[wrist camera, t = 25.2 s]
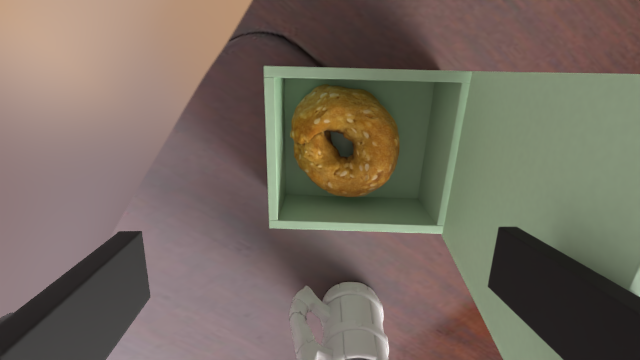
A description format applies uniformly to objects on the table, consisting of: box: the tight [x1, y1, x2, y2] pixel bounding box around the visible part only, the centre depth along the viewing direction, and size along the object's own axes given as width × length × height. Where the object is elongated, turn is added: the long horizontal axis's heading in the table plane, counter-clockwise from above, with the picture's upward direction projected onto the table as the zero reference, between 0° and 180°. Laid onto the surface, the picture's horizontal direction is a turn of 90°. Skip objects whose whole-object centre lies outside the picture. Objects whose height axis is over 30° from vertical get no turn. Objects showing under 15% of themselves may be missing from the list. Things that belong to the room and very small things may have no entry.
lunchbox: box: [263, 66, 473, 234], centre depth 28 cm, size 16×14×7 cm
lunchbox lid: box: [442, 71, 640, 360], centre depth 16 cm, size 16×14×10 cm
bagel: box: [290, 84, 400, 197], centre depth 28 cm, size 10×11×5 cm
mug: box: [289, 282, 389, 360], centre depth 33 cm, size 8×12×12 cm, turn 59°
